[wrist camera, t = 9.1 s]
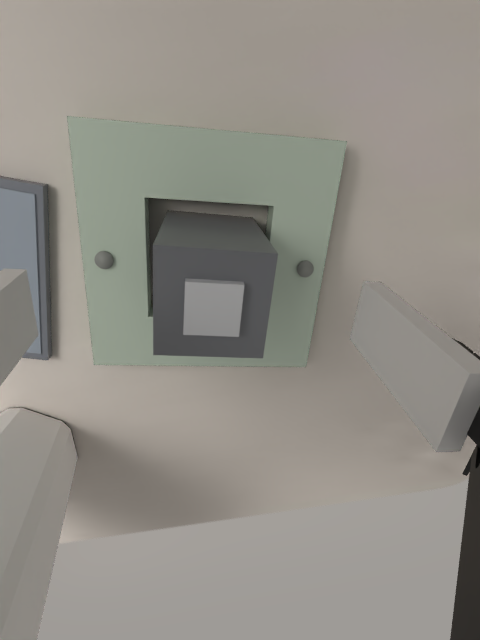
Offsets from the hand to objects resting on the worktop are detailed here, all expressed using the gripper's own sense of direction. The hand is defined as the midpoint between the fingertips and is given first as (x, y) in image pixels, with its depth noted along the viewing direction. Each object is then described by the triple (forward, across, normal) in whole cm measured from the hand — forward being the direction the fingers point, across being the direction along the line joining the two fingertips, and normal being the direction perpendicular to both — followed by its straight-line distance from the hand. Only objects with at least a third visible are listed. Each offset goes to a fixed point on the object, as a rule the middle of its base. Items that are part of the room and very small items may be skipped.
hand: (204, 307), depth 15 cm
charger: (+9, 0, 0) cm, 9 cm away
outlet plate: (+9, 0, -1) cm, 9 cm away
